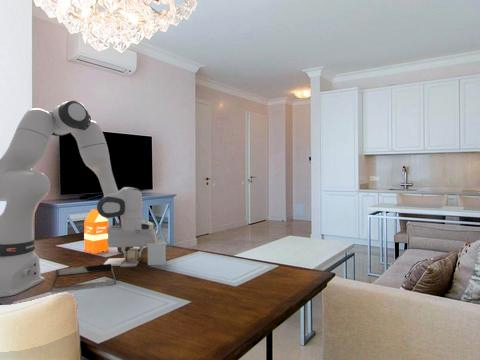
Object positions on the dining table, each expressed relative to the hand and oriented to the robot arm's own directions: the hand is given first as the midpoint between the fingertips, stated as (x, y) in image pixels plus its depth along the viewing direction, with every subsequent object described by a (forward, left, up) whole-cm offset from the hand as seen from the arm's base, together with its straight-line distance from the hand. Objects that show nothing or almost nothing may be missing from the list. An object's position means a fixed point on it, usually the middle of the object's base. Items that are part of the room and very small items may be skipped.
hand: (132, 256), depth 146 cm
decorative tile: (-24, +12, -2) cm, 27 cm away
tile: (-7, -11, -2) cm, 13 cm away
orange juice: (+22, +21, -2) cm, 30 cm away
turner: (-3, 0, -2) cm, 3 cm away
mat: (-2, +7, -2) cm, 7 cm away
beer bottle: (+20, +7, -2) cm, 21 cm away
